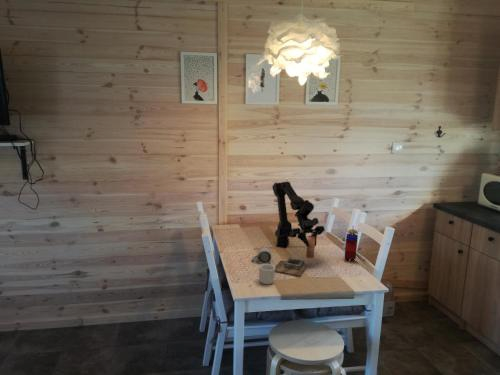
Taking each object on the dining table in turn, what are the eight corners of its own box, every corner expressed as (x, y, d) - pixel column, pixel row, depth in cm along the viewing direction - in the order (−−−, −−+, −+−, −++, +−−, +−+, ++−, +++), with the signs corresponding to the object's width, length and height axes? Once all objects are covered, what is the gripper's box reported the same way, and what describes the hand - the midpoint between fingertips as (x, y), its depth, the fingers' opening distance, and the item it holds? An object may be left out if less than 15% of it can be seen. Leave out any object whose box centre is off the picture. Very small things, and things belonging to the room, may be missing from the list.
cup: (256, 276, 200) (257, 261, 199) (272, 276, 201) (273, 261, 199) (259, 285, 190) (259, 270, 188) (275, 285, 191) (276, 270, 189)
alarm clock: (355, 264, 219) (358, 229, 215) (339, 262, 221) (342, 227, 217) (356, 255, 233) (359, 222, 228) (341, 253, 235) (344, 220, 231)
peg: (305, 257, 211) (306, 237, 209) (307, 254, 215) (309, 235, 212) (312, 258, 209) (313, 239, 207) (314, 256, 213) (316, 236, 210)
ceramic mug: (270, 258, 223) (271, 245, 221) (271, 264, 215) (271, 251, 213) (251, 258, 223) (252, 245, 222) (251, 264, 215) (252, 250, 214)
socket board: (272, 271, 206) (272, 265, 206) (280, 262, 219) (280, 256, 218) (300, 277, 201) (300, 270, 200) (307, 267, 213) (307, 260, 213)
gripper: (293, 214, 207) (302, 241, 200) (324, 211, 214) (334, 237, 206) (285, 223, 216) (294, 250, 209) (315, 221, 223) (324, 246, 215)
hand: (312, 246), depth 209 cm, fingers closed on peg, 4 cm apart
